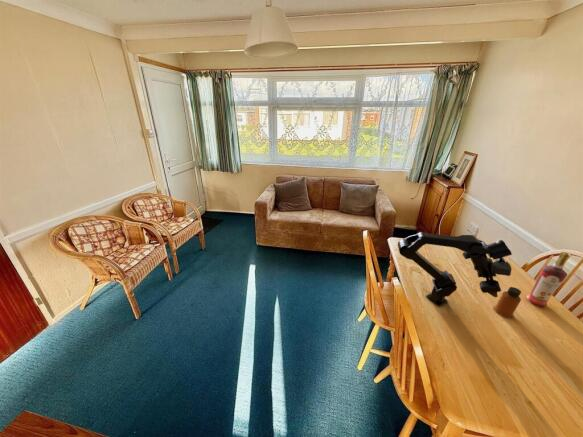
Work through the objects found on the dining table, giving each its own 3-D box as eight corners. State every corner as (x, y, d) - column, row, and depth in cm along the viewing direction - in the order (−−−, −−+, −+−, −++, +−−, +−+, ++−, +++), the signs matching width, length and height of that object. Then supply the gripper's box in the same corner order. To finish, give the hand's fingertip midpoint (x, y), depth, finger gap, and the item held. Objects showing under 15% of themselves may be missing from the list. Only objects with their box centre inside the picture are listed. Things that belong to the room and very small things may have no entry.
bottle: (507, 319, 100) (519, 297, 94) (491, 309, 105) (502, 288, 99) (514, 314, 102) (527, 293, 97) (499, 305, 107) (510, 284, 102)
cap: (515, 298, 97) (518, 294, 96) (505, 292, 100) (507, 288, 99) (520, 295, 98) (523, 291, 97) (509, 290, 101) (512, 285, 100)
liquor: (545, 302, 109) (577, 253, 96) (546, 311, 104) (580, 261, 92) (525, 294, 113) (552, 246, 101) (524, 302, 108) (554, 253, 96)
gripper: (510, 274, 85) (525, 304, 88) (500, 244, 99) (512, 271, 102) (474, 278, 92) (488, 305, 96) (469, 250, 106) (482, 275, 109)
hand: (494, 288), depth 100 cm, fingers open, 9 cm apart
